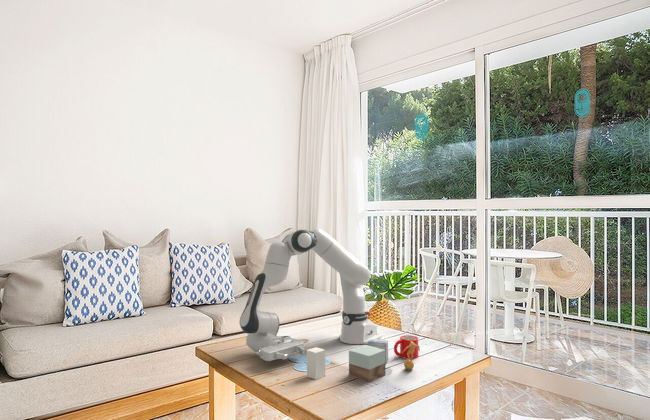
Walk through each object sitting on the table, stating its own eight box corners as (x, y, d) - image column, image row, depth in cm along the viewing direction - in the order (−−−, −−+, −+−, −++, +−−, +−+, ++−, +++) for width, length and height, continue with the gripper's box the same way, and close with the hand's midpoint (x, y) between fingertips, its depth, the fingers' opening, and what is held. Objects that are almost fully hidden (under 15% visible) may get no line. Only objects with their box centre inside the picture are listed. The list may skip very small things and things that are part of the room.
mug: (389, 356, 186) (388, 338, 186) (410, 351, 192) (410, 334, 192) (400, 361, 179) (400, 342, 180) (422, 356, 185) (422, 338, 185)
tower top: (365, 357, 171) (365, 344, 171) (385, 362, 164) (385, 349, 164) (348, 363, 164) (348, 350, 164) (369, 369, 157) (369, 356, 157)
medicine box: (388, 360, 181) (388, 339, 181) (386, 363, 177) (386, 342, 177) (370, 358, 183) (370, 338, 184) (367, 361, 179) (367, 341, 179)
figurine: (414, 366, 173) (414, 336, 173) (423, 371, 168) (423, 340, 168) (397, 369, 170) (397, 339, 170) (405, 374, 164) (405, 343, 165)
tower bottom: (365, 369, 171) (365, 357, 171) (385, 375, 164) (385, 362, 164) (348, 376, 164) (348, 363, 164) (369, 383, 157) (369, 369, 157)
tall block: (316, 372, 167) (315, 347, 167) (325, 376, 164) (325, 349, 164) (306, 376, 164) (306, 350, 164) (315, 379, 160) (315, 352, 160)
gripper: (253, 344, 175) (274, 352, 165) (291, 334, 189) (312, 341, 179) (253, 360, 174) (274, 368, 165) (291, 349, 189) (312, 356, 179)
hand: (294, 354), depth 172 cm, fingers open, 8 cm apart
